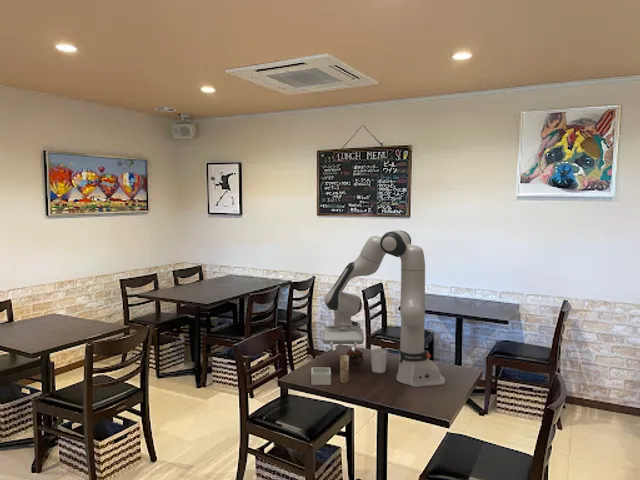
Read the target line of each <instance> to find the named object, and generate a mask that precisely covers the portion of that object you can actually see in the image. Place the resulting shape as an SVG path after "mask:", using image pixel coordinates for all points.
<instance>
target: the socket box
mask: <svg viewBox="0 0 640 480" xmlns="http://www.w3.org/2000/svg"><path fill="white" fill-rule="evenodd" d="M310 368H311V373H310V374H311V376H310V377H311V380H310V382H311V383H310V384H311V386H330V385H331V384H332V377H331V376H332V372H331V367H310Z"/></svg>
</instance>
